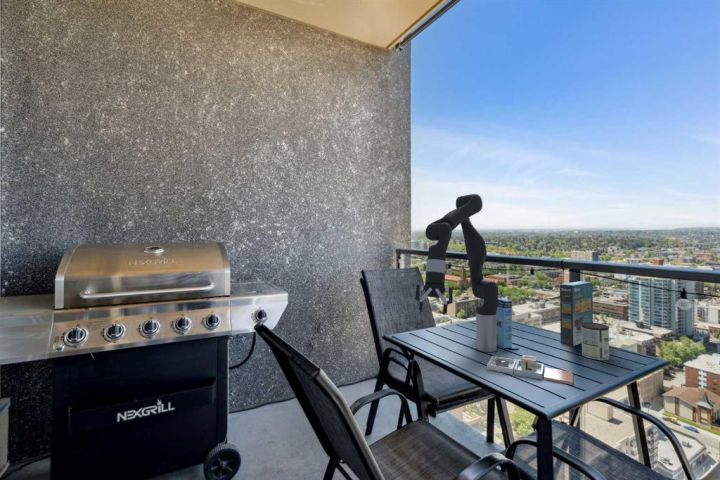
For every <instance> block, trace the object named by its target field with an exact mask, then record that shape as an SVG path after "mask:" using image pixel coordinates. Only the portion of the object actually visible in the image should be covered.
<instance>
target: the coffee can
mask: <svg viewBox="0 0 720 480" xmlns="http://www.w3.org/2000/svg"><path fill="white" fill-rule="evenodd" d="M581 326H582V343H581V355H582V356H583V357H584V358H587V359H592V360H596V361H608V360H609V359H610V330H609V329H610V326H609V325H607V324H604V323H600V322H599V323H598V322H593V323H590V322H586V323H581Z"/></svg>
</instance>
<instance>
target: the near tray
mask: <svg viewBox="0 0 720 480" xmlns="http://www.w3.org/2000/svg"><path fill="white" fill-rule="evenodd" d="M496 359H504V360H507V361H509V367H502V366H496ZM517 360H518V359H517V358H516V359H515V358H508V357H501V356H497V355H492V356H491V358H489V360H488V362H487V364H486V371H491V372H496V373H502V374H508V375H514V368H515V365H516V363H517Z"/></svg>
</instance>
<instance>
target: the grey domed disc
mask: <svg viewBox="0 0 720 480" xmlns="http://www.w3.org/2000/svg"><path fill="white" fill-rule="evenodd" d="M496 366H502V367H509V361H507V360H504V359H496Z"/></svg>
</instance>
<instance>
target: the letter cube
mask: <svg viewBox="0 0 720 480" xmlns="http://www.w3.org/2000/svg"><path fill="white" fill-rule="evenodd" d="M520 360H521V366H522V370H525V371H531V372H536V371H537V363H538V362H537V357H536V356H532V355H531V356H530V355H524V354H522V356H521V358H520Z"/></svg>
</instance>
